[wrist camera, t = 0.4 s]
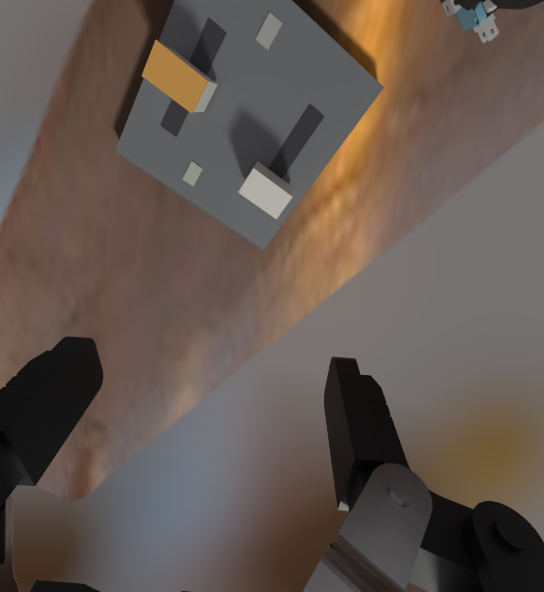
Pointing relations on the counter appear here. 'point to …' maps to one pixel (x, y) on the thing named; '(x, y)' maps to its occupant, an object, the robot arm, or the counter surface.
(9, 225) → the counter surface
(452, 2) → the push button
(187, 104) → the handle
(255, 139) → the breaker board
